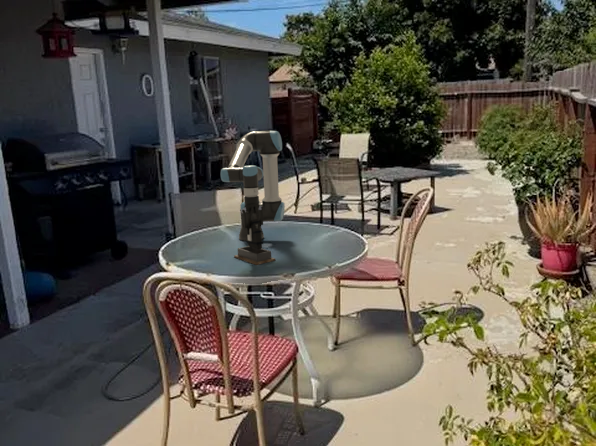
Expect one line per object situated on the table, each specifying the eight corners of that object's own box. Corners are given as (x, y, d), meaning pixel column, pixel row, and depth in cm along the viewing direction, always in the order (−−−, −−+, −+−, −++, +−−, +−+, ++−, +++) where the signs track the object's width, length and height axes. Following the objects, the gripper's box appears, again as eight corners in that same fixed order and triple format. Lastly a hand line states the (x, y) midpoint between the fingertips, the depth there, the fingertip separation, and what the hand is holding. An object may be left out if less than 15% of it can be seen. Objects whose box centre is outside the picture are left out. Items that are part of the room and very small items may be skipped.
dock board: (252, 253, 306) (252, 251, 306) (275, 260, 290) (275, 258, 290) (234, 257, 299) (234, 255, 298) (256, 265, 283) (256, 263, 282)
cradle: (251, 252, 304) (251, 245, 303) (271, 258, 290) (271, 251, 289) (237, 255, 298) (237, 248, 297) (257, 262, 284) (256, 254, 284)
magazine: (259, 247, 283) (252, 219, 286) (249, 253, 295) (242, 226, 297) (265, 246, 285) (258, 218, 288) (255, 252, 296) (248, 225, 299)
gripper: (241, 198, 279) (243, 243, 284) (269, 194, 290) (271, 238, 295) (233, 197, 285) (235, 241, 290) (260, 193, 295) (262, 235, 300)
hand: (253, 239), depth 292 cm, fingers closed on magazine, 4 cm apart
